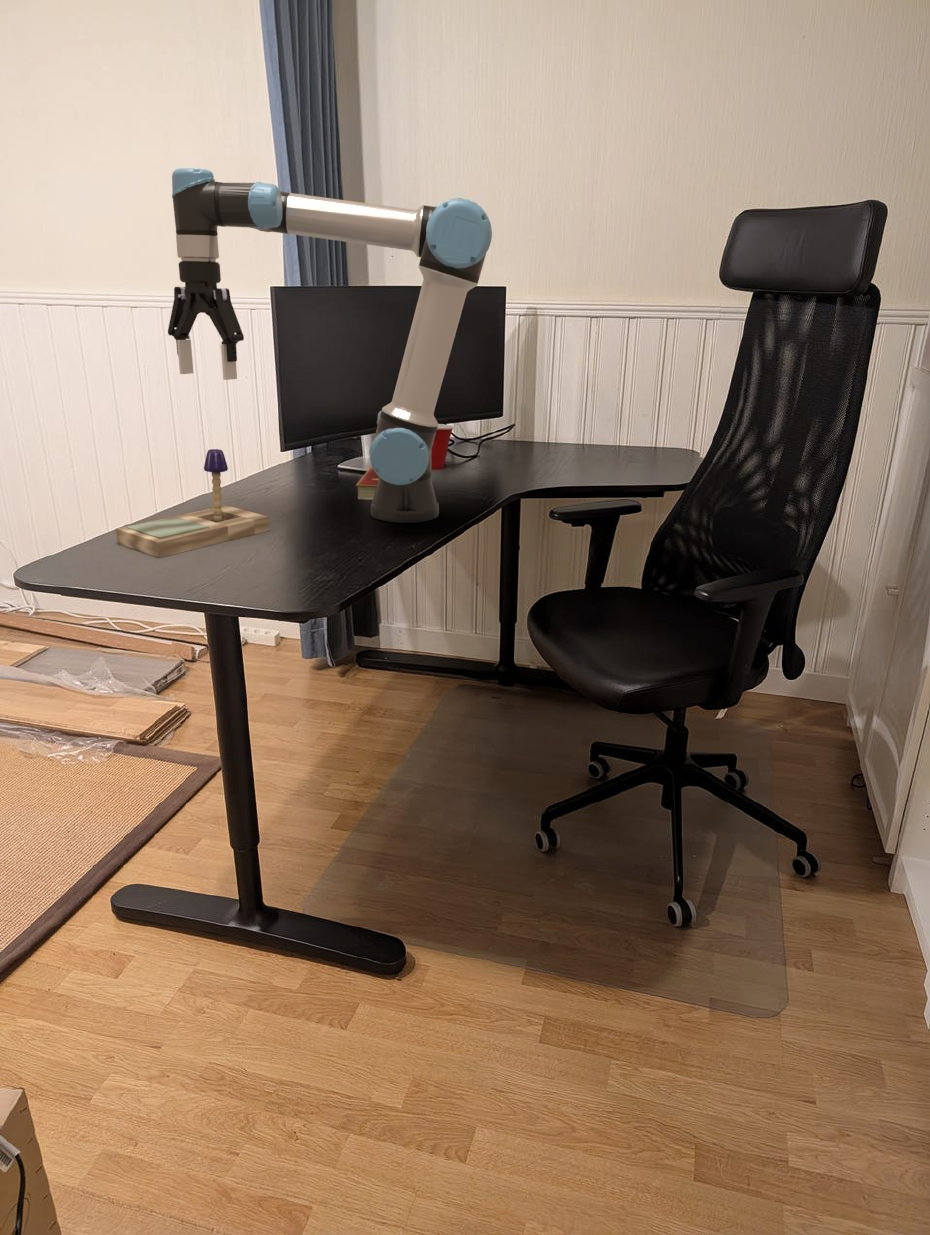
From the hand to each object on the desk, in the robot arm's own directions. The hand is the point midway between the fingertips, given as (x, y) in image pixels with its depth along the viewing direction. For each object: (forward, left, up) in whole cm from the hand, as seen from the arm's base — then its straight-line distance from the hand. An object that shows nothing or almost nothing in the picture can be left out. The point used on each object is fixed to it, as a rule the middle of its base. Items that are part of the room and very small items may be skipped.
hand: (208, 376), depth 176 cm
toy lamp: (-3, +2, -31) cm, 31 cm away
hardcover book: (-2, -49, -31) cm, 58 cm away
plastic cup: (+9, -79, -31) cm, 85 cm away
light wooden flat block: (-3, +8, -31) cm, 32 cm away
